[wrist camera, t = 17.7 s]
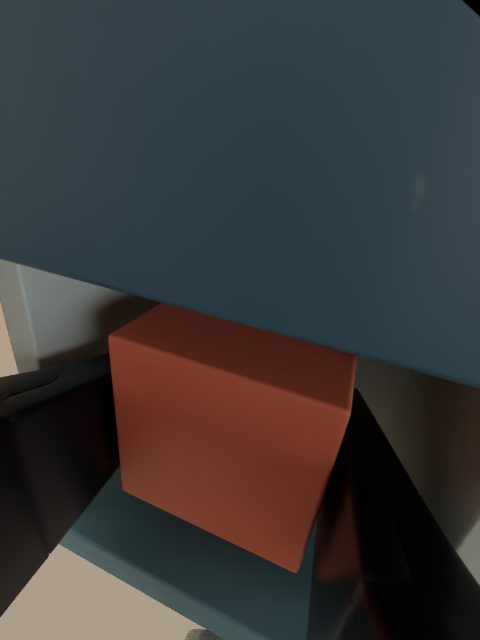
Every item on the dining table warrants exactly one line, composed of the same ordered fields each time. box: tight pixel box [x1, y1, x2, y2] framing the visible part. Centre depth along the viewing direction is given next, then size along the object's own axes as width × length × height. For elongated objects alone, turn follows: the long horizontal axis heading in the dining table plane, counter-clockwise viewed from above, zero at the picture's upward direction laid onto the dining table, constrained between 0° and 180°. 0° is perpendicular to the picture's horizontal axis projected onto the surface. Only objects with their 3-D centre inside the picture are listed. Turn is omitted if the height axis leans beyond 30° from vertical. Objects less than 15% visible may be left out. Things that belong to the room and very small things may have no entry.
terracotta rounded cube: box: [108, 303, 357, 573], centre depth 8 cm, size 4×4×4 cm
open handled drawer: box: [0, 259, 480, 640], centre depth 10 cm, size 18×11×7 cm, turn 174°
